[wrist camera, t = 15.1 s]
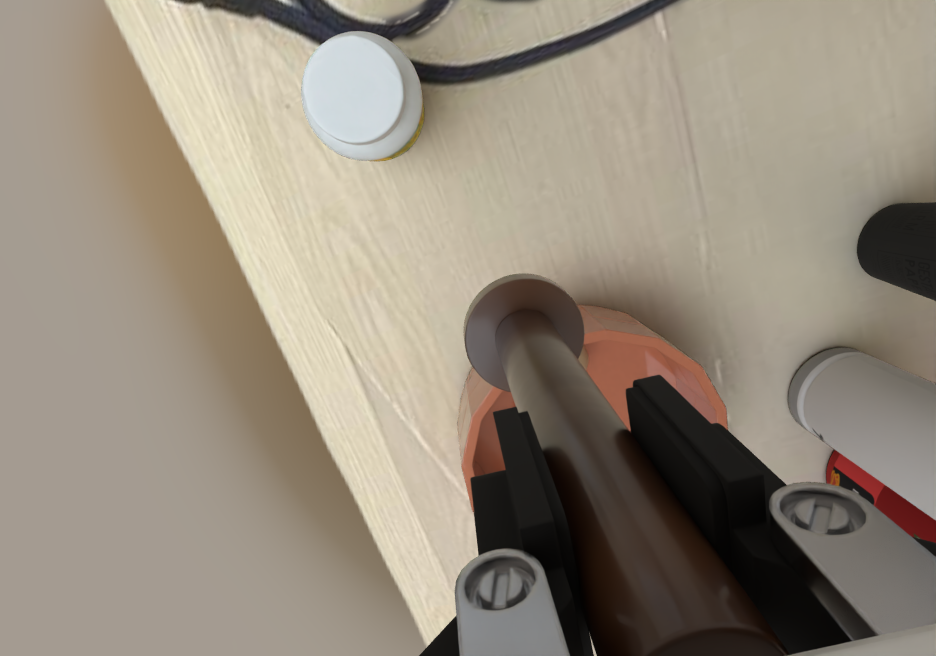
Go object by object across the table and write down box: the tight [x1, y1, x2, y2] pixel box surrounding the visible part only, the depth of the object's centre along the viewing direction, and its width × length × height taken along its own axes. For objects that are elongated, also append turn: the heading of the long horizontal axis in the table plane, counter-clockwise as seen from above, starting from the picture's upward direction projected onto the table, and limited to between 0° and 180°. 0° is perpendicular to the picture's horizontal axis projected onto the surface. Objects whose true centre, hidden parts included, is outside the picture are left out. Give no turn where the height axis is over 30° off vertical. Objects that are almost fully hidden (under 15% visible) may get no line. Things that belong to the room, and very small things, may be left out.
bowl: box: [457, 305, 728, 512], centre depth 34 cm, size 15×15×6 cm
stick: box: [464, 274, 790, 656], centre depth 14 cm, size 4×4×15 cm
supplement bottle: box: [301, 31, 424, 161], centre depth 26 cm, size 5×5×10 cm
